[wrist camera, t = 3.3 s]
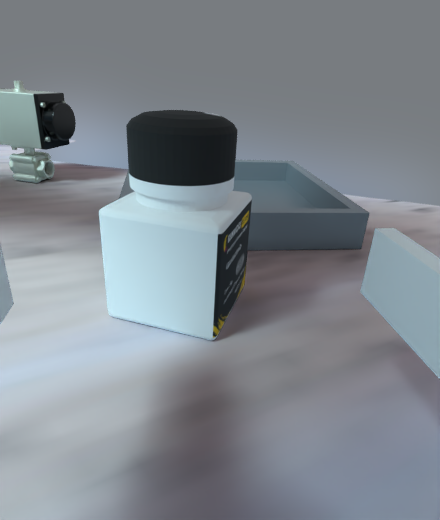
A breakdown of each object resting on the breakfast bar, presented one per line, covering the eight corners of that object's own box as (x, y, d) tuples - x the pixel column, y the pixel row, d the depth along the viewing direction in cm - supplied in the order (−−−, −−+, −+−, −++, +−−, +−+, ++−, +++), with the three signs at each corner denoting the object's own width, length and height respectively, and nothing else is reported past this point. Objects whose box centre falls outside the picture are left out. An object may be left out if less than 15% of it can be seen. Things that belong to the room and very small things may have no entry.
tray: (117, 251, 32) (114, 212, 31) (133, 183, 52) (132, 157, 50) (361, 248, 36) (369, 213, 34) (290, 185, 55) (293, 161, 54)
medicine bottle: (215, 344, 22) (227, 124, 17) (106, 318, 24) (86, 112, 19) (245, 286, 28) (260, 112, 23) (156, 269, 30) (152, 104, 25)
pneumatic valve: (61, 189, 48) (47, 84, 43) (-16, 178, 51) (-38, 78, 45) (86, 179, 53) (76, 83, 48) (15, 169, 55) (-2, 78, 50)
